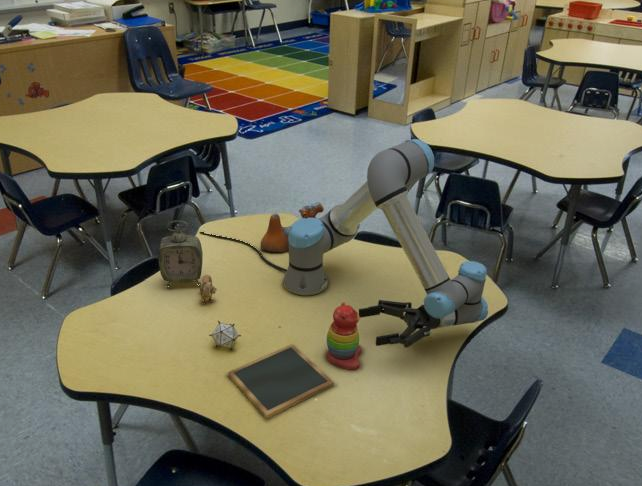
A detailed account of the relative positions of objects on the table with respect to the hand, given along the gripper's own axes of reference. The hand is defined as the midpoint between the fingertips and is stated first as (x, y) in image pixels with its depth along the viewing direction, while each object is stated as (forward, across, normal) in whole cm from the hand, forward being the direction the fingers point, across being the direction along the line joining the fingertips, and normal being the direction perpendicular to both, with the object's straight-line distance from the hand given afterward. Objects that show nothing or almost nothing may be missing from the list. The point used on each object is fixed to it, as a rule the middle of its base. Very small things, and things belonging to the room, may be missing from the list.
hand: (367, 327), depth 168 cm
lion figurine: (+41, +41, -10) cm, 59 cm away
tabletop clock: (+48, +52, -10) cm, 72 cm away
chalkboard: (+27, -5, -10) cm, 29 cm away
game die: (+39, +14, -10) cm, 43 cm away
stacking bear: (+7, 0, -10) cm, 12 cm away
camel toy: (+4, +68, -10) cm, 69 cm away
